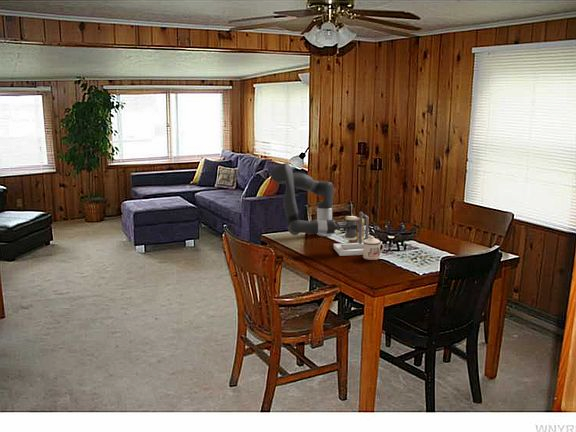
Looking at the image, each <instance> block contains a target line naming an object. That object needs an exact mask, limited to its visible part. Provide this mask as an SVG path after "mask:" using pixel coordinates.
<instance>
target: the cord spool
mask: <svg viewBox="0 0 576 432" xmlns="http://www.w3.org/2000/svg"><path fill="white" fill-rule="evenodd" d="M357 217H358V216H355V215H347V216H345V219H344V220H346V221H345V222H346V225H356V220H357ZM347 229H348V227H347ZM356 239H357V237H356V229H350V231H345V236H344V240H347V241H348V240H356Z"/></svg>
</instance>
